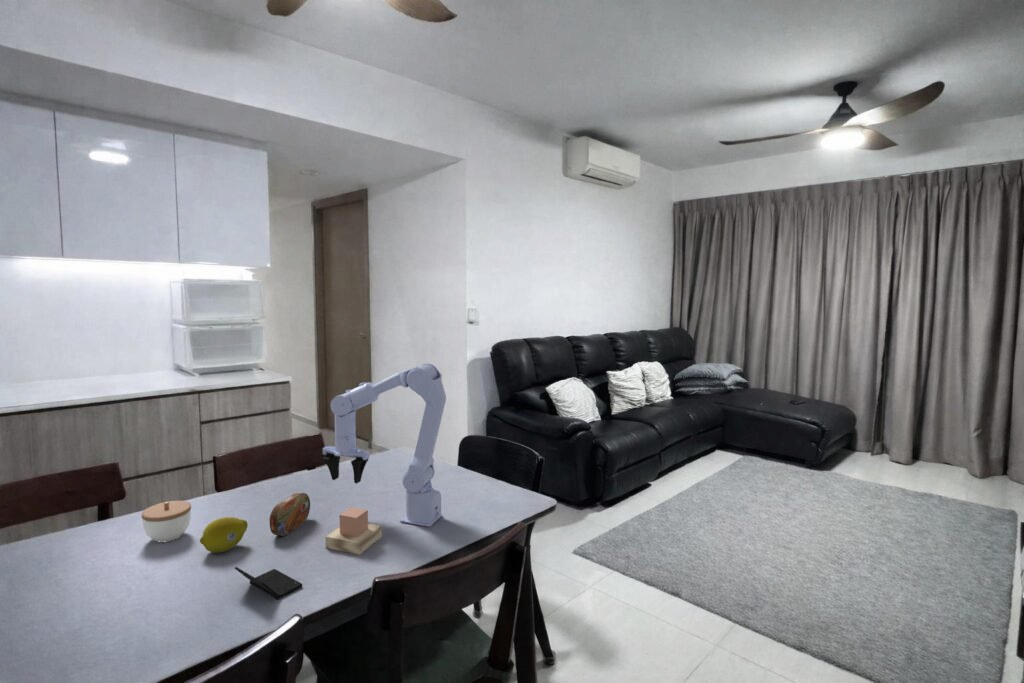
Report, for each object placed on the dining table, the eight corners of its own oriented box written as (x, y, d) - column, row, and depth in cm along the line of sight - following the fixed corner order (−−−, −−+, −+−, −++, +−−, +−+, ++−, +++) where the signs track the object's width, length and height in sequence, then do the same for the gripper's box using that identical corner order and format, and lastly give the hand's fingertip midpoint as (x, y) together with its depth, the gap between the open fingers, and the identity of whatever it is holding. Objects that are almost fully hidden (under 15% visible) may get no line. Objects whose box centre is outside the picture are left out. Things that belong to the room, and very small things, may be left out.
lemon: (203, 562, 125) (201, 530, 125) (197, 550, 131) (195, 519, 130) (252, 548, 132) (251, 518, 132) (244, 537, 138) (243, 507, 137)
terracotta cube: (368, 528, 138) (367, 509, 137) (356, 536, 133) (356, 517, 132) (351, 525, 139) (351, 507, 139) (339, 533, 134) (339, 514, 134)
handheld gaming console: (309, 575, 118) (282, 553, 112) (291, 608, 113) (261, 587, 107) (273, 570, 123) (245, 548, 117) (255, 601, 118) (224, 581, 112)
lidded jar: (201, 532, 140) (199, 498, 139) (160, 550, 131) (158, 514, 130) (175, 524, 145) (173, 491, 144) (134, 541, 135) (131, 506, 134)
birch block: (381, 536, 139) (381, 525, 139) (359, 554, 130) (359, 543, 130) (349, 530, 143) (349, 520, 142) (325, 547, 133) (325, 536, 133)
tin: (278, 541, 136) (277, 510, 135) (267, 540, 137) (266, 509, 136) (311, 517, 151) (310, 488, 150) (301, 515, 151) (300, 487, 151)
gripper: (315, 436, 151) (316, 482, 152) (358, 441, 146) (359, 488, 147) (331, 429, 157) (332, 473, 159) (373, 434, 153) (373, 480, 154)
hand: (346, 480), depth 154 cm, fingers open, 7 cm apart
